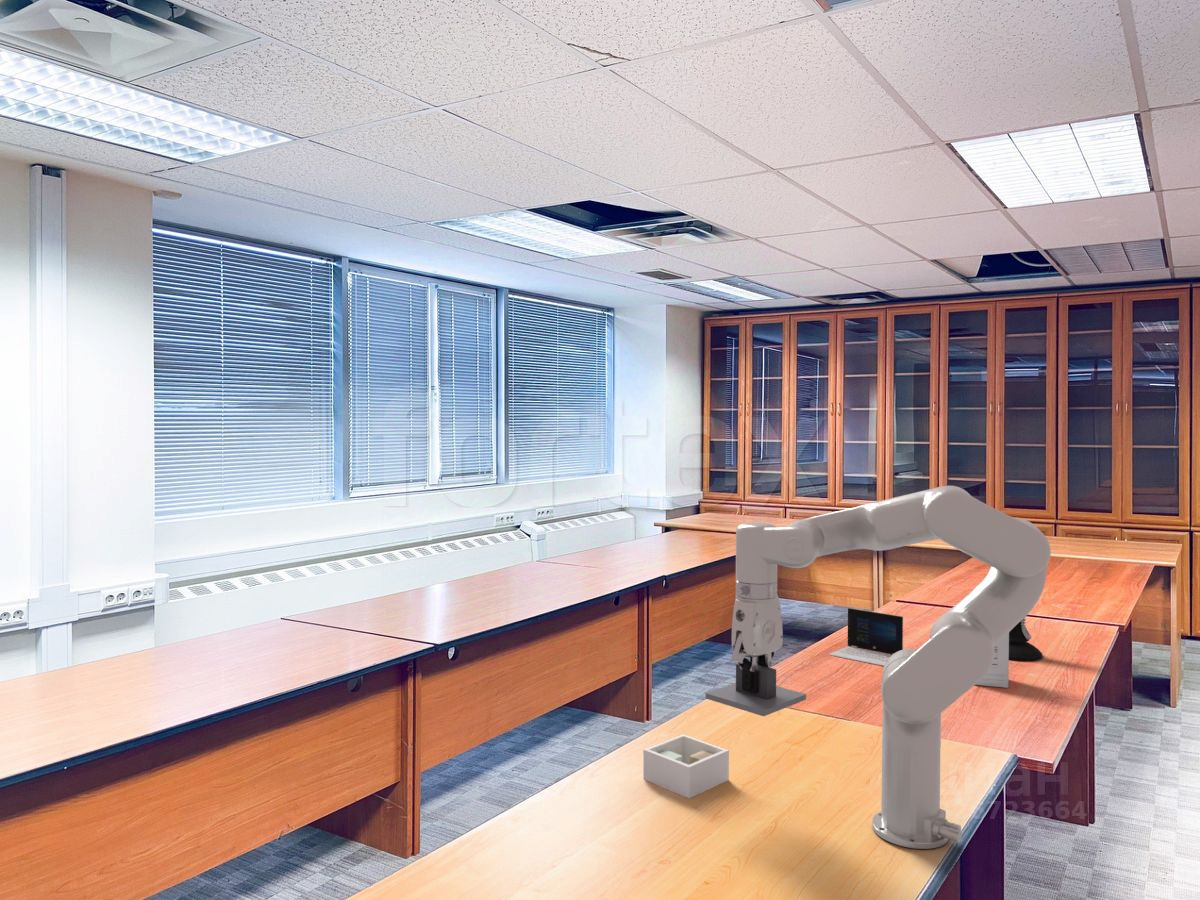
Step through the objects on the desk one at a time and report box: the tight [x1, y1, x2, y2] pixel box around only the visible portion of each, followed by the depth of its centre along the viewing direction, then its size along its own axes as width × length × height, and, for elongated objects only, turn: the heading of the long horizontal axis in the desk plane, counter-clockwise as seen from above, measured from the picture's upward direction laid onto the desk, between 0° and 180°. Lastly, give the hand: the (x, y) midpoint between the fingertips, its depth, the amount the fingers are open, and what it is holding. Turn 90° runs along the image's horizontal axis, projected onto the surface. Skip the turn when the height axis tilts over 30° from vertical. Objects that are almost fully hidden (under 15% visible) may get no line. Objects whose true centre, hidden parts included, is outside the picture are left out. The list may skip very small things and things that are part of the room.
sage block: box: [659, 750, 683, 762], centre depth 169 cm, size 4×4×4 cm
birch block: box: [690, 751, 713, 764], centre depth 169 cm, size 4×4×4 cm
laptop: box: [828, 607, 904, 667], centre depth 257 cm, size 18×12×13 cm
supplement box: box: [974, 633, 1010, 689], centre depth 231 cm, size 10×9×17 cm
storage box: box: [643, 733, 730, 799], centre depth 169 cm, size 12×12×6 cm
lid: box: [705, 663, 807, 717], centre depth 156 cm, size 13×13×6 cm
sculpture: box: [1009, 615, 1043, 662], centre depth 261 cm, size 15×24×25 cm, turn 49°
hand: (755, 688), depth 156 cm, fingers closed on lid, 2 cm apart
